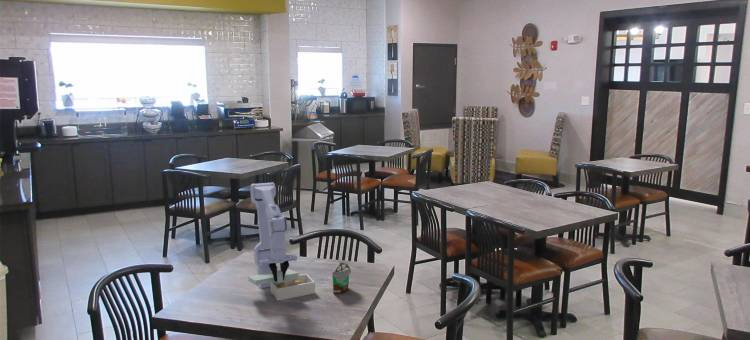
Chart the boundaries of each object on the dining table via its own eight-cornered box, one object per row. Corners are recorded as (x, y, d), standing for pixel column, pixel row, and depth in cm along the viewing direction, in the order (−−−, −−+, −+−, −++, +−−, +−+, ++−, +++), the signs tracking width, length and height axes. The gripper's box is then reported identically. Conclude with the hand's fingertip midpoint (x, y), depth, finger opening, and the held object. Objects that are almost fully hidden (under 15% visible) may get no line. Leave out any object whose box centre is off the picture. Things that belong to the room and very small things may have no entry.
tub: (270, 291, 223) (270, 280, 222) (306, 284, 230) (306, 273, 229) (277, 300, 214) (277, 289, 213) (314, 293, 221) (314, 282, 220)
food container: (346, 296, 218) (346, 273, 216) (332, 295, 220) (332, 272, 218) (354, 284, 230) (354, 262, 228) (340, 283, 231) (340, 261, 229)
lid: (248, 280, 218) (247, 270, 218) (289, 273, 226) (288, 263, 226) (258, 286, 204) (257, 275, 204) (301, 278, 212) (300, 268, 212)
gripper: (262, 253, 200) (263, 287, 203) (299, 247, 207) (299, 280, 209) (257, 247, 206) (258, 280, 209) (293, 242, 213) (294, 274, 216)
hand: (278, 280), depth 210 cm, fingers closed on lid, 2 cm apart
